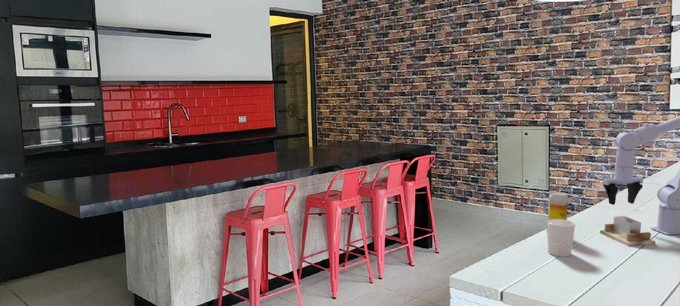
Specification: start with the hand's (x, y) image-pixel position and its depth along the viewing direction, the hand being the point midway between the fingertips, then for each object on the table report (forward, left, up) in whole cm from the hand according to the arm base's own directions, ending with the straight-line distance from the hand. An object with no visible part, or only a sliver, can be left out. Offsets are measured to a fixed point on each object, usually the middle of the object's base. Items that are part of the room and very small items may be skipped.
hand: (621, 203), depth 189 cm
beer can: (+27, +3, -10) cm, 29 cm away
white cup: (+36, +19, -10) cm, 42 cm away
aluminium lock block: (+5, +10, -8) cm, 14 cm away
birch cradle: (+5, +10, -9) cm, 15 cm away
